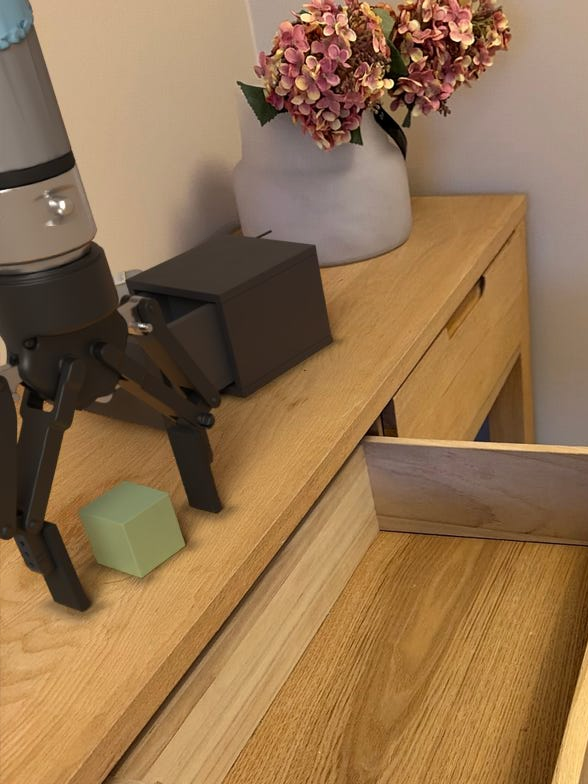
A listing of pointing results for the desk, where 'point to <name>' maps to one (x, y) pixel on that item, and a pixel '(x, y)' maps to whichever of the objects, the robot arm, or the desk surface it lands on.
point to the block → (132, 528)
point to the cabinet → (251, 301)
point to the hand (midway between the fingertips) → (143, 552)
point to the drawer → (197, 336)
